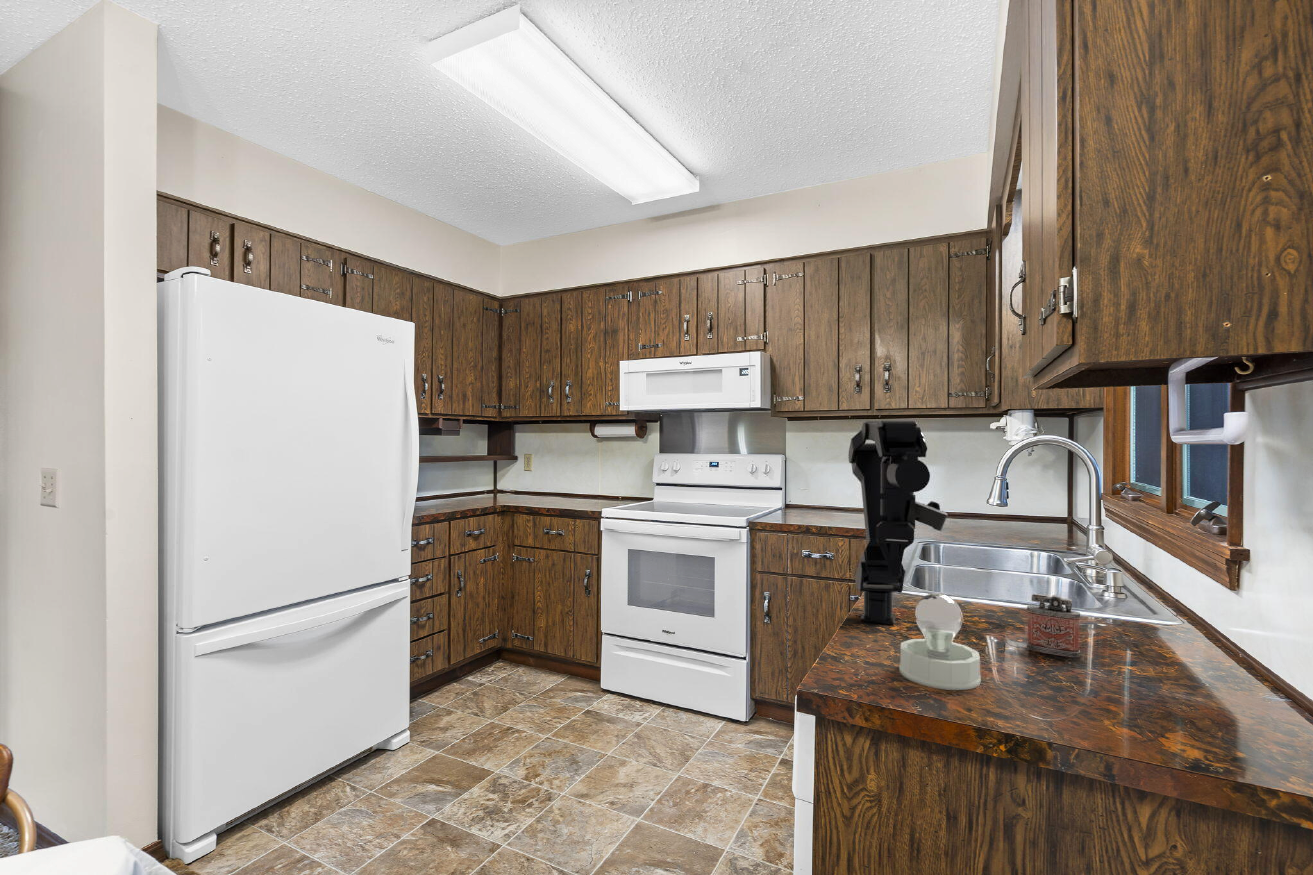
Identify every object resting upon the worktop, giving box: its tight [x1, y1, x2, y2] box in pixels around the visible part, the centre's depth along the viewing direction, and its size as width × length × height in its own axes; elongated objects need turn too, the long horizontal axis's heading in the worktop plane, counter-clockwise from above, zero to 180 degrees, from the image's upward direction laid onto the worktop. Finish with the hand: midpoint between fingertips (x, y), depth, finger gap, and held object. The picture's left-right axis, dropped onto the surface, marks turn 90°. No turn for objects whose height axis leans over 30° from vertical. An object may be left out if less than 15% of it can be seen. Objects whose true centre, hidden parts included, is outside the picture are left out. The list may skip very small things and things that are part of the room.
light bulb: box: [914, 592, 964, 661], centre depth 101 cm, size 7×7×12 cm
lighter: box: [1026, 593, 1081, 658], centre depth 112 cm, size 8×3×10 cm, turn 56°
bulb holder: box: [898, 638, 982, 691], centre depth 100 cm, size 12×12×4 cm
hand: (896, 571), depth 117 cm, fingers open, 9 cm apart
